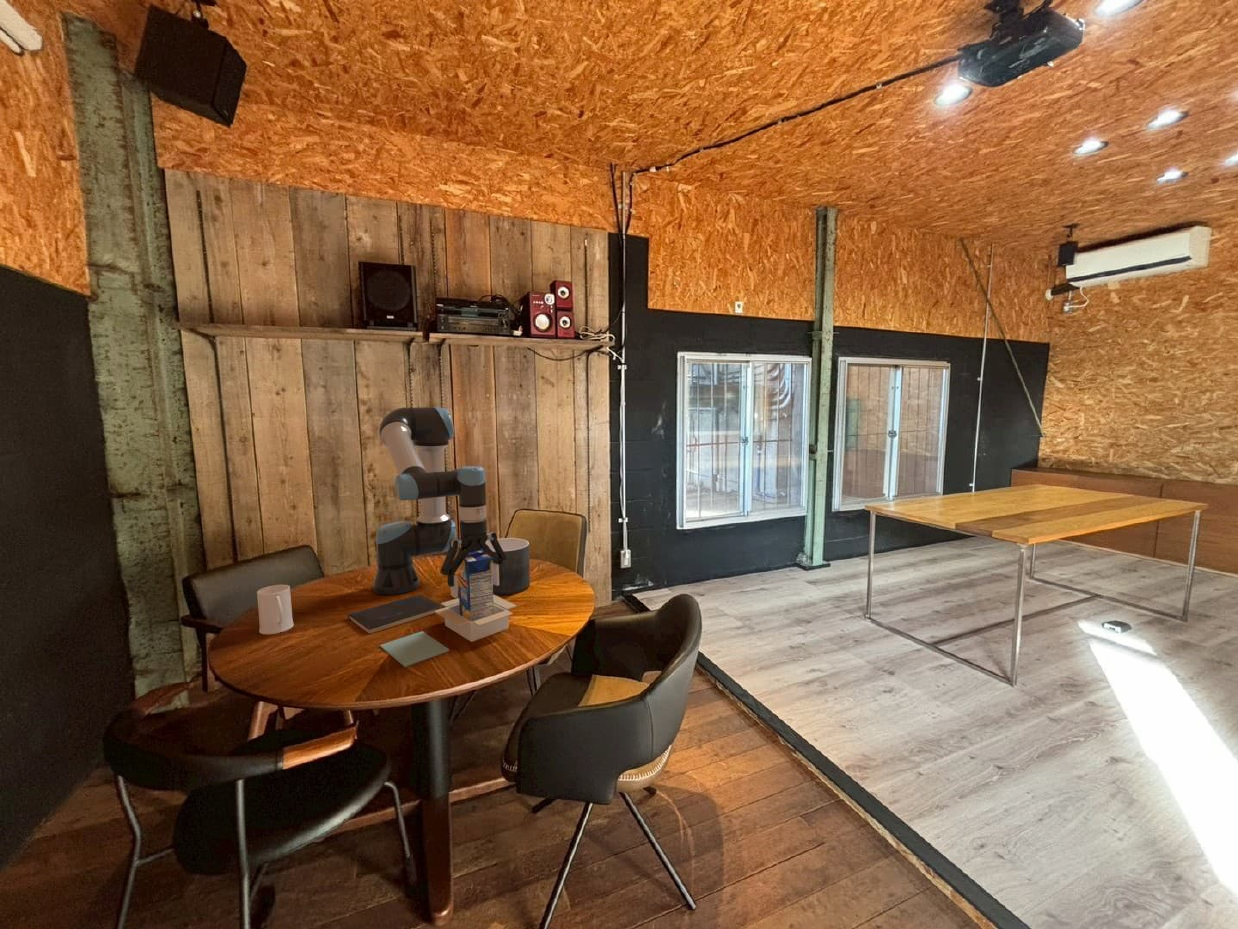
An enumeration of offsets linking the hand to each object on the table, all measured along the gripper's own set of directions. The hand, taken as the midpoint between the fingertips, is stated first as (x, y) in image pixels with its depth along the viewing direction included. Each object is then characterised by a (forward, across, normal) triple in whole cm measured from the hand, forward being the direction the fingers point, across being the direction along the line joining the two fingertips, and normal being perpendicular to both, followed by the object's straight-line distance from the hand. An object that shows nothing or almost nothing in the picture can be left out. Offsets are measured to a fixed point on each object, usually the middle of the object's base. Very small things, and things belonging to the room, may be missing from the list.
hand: (475, 590), depth 152 cm
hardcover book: (+12, -13, +26) cm, 32 cm away
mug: (+11, -42, +40) cm, 59 cm away
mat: (+11, -19, 0) cm, 22 cm away
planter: (+11, +25, +23) cm, 36 cm away
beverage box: (+12, 0, 0) cm, 12 cm away
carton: (+11, 0, 0) cm, 11 cm away
